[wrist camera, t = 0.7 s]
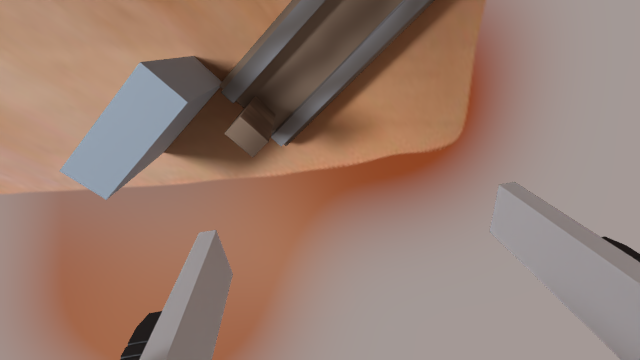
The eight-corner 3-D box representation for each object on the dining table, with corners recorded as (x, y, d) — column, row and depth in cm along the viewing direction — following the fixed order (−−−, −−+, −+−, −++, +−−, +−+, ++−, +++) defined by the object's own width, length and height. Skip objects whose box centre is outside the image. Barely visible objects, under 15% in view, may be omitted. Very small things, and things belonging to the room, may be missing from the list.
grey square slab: (134, 130, 34) (59, 170, 23) (193, 56, 31) (140, 62, 20) (163, 152, 35) (106, 199, 25) (223, 83, 32) (187, 102, 22)
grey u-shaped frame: (223, 83, 32) (187, 102, 21) (400, -123, 26) (476, -244, 15) (286, 141, 36) (282, 182, 25) (455, -27, 29) (548, -67, 19)
